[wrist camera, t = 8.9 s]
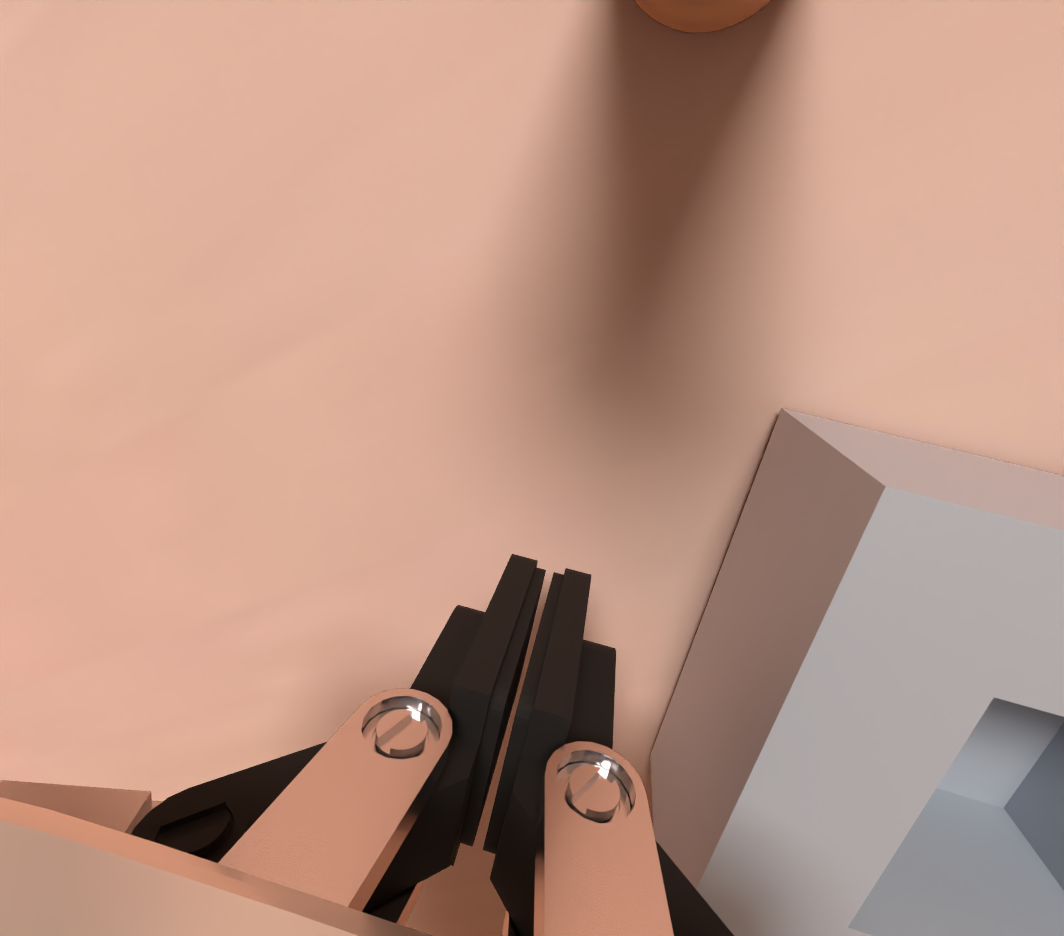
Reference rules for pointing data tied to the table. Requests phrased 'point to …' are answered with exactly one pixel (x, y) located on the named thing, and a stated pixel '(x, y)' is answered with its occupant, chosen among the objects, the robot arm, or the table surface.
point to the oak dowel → (700, 13)
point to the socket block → (876, 697)
